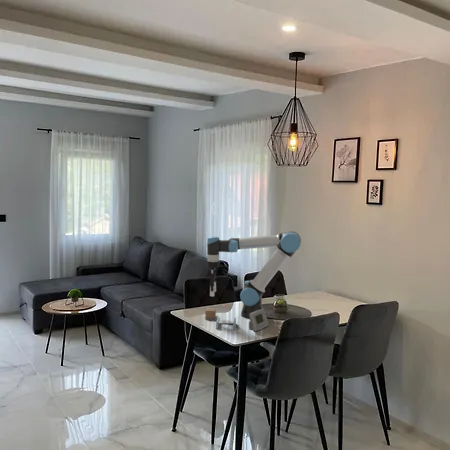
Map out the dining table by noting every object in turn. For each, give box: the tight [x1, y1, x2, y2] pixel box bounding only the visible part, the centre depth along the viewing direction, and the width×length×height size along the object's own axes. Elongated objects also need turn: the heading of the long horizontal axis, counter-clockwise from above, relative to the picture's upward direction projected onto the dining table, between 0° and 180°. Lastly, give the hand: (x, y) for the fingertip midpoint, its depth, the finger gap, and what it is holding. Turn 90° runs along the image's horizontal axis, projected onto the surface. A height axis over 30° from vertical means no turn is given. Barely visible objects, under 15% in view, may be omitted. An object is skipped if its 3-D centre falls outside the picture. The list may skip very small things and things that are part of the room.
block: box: [204, 307, 217, 319], centre depth 295 cm, size 6×6×5 cm
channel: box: [215, 316, 237, 330], centre depth 277 cm, size 11×12×4 cm
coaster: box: [204, 315, 219, 321], centre depth 295 cm, size 9×9×1 cm
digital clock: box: [248, 308, 269, 333], centre depth 274 cm, size 16×9×11 cm, turn 135°
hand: (213, 293), depth 294 cm, fingers open, 13 cm apart
